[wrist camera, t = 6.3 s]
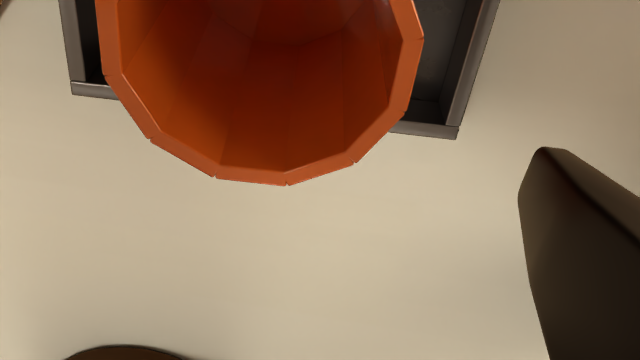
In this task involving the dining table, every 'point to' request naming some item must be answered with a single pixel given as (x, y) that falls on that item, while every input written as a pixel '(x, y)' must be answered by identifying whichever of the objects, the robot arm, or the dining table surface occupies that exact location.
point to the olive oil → (122, 354)
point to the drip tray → (430, 82)
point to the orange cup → (262, 79)
